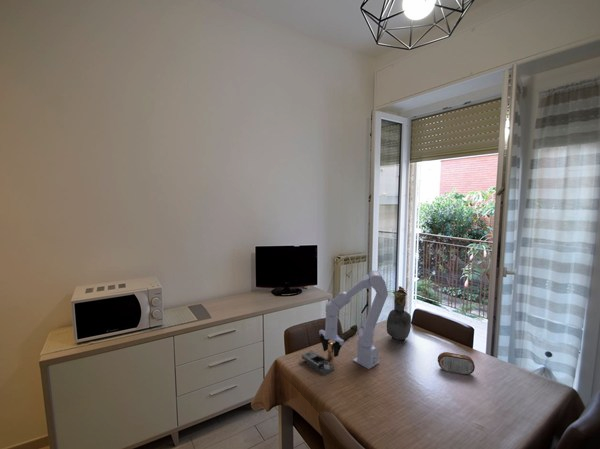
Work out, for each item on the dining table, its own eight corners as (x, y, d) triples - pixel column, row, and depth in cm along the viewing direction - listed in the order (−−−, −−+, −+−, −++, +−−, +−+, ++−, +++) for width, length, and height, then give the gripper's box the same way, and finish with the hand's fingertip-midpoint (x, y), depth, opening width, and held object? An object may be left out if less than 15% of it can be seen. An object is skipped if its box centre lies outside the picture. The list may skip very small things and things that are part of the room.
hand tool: (342, 344, 162) (342, 336, 161) (336, 341, 164) (336, 333, 164) (361, 333, 175) (361, 325, 175) (355, 331, 178) (355, 323, 177)
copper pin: (335, 359, 146) (335, 343, 145) (330, 361, 144) (331, 345, 143) (330, 356, 148) (330, 341, 148) (326, 358, 147) (326, 343, 146)
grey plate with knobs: (333, 370, 137) (334, 363, 137) (323, 375, 133) (323, 369, 132) (311, 356, 148) (311, 350, 148) (301, 361, 144) (301, 355, 144)
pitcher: (384, 342, 163) (386, 289, 160) (394, 330, 179) (396, 281, 176) (404, 348, 157) (407, 293, 154) (413, 334, 173) (415, 284, 170)
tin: (473, 373, 135) (474, 355, 135) (474, 377, 132) (476, 359, 132) (437, 367, 140) (438, 350, 140) (437, 370, 137) (438, 353, 137)
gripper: (315, 323, 148) (314, 350, 149) (336, 334, 137) (336, 362, 138) (325, 320, 152) (324, 345, 154) (346, 329, 141) (346, 357, 143)
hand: (330, 353), depth 146 cm, fingers open, 6 cm apart
